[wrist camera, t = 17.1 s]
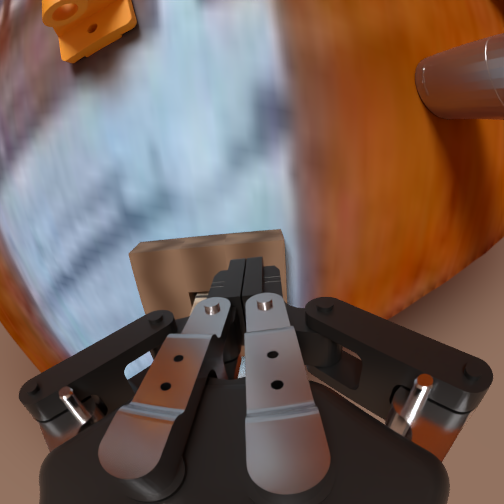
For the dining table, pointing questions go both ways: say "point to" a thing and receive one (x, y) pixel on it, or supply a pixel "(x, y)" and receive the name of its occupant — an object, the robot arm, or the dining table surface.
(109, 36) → the bracket
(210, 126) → the dining table surface
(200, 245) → the board
